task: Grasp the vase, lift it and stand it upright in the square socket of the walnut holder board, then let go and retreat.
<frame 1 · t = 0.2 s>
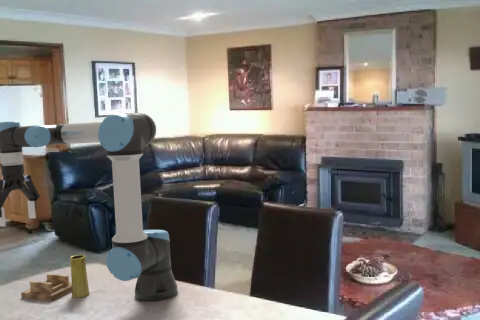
hand: (17, 222, 184), 27 cm above the table, fingers open, 13 cm apart
holder: (50, 292, 188), on the table
vase: (80, 295, 184), on the table
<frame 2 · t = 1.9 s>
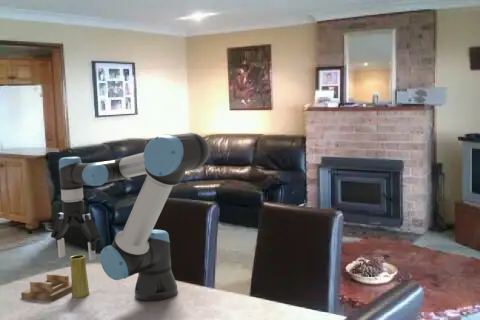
hand: (77, 258, 183), 14 cm above the table, fingers open, 13 cm apart
nothing on the table moved.
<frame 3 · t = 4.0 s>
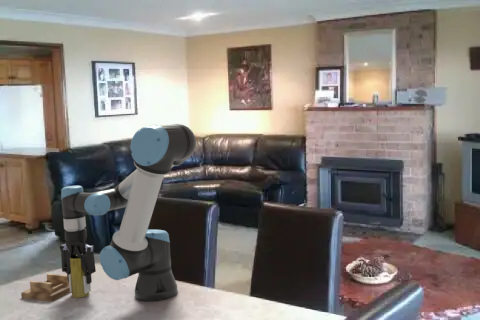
hand: (80, 291, 184), 1 cm above the table, fingers closed on vase, 6 cm apart
vase: (80, 295, 184), on the table, touching gripper
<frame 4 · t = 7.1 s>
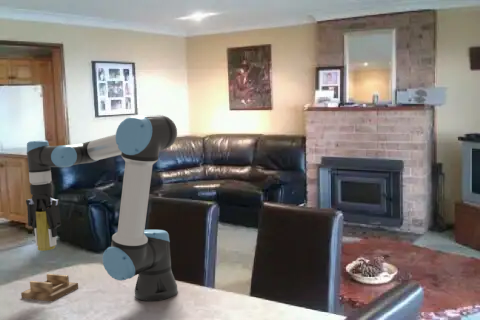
hand: (46, 245, 186), 18 cm above the table, fingers closed on vase, 6 cm apart
vase: (46, 249, 186), point 17 cm above the table, touching gripper
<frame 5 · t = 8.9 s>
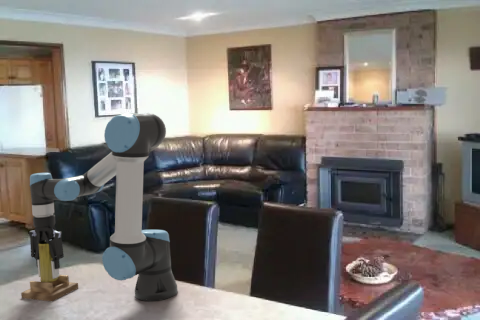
hand: (49, 276, 187), 6 cm above the table, fingers closed on vase, 6 cm apart
vase: (49, 280, 187), point 5 cm above the table, touching gripper
when the fingers open (5 cm above the table, at t = 10.4 s): vase drops 1 cm, resting on holder.
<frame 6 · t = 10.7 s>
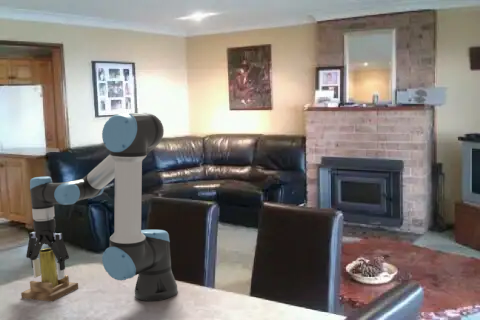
hand: (49, 277, 187), 6 cm above the table, fingers open, 10 cm apart
vase: (50, 288, 187), point 2 cm above the table, touching holder
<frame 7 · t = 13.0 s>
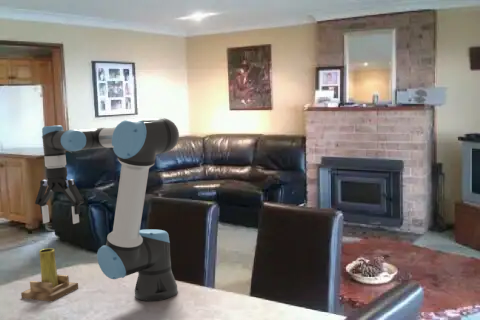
hand: (61, 222, 191), 25 cm above the table, fingers open, 13 cm apart
nothing on the table moved.
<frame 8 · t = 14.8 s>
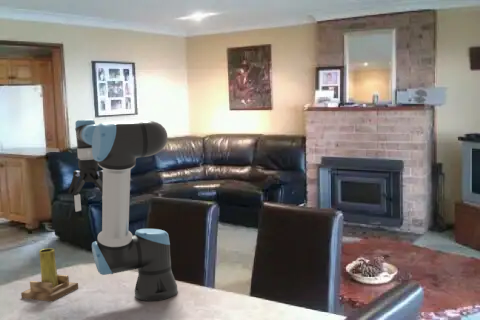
hand: (92, 211, 203), 27 cm above the table, fingers open, 13 cm apart
nothing on the table moved.
at the end: vase 0.0 cm off-centre on the holder, point 1.8 cm above the holder's base; vase tilted 0°; the gripper is holding nothing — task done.
